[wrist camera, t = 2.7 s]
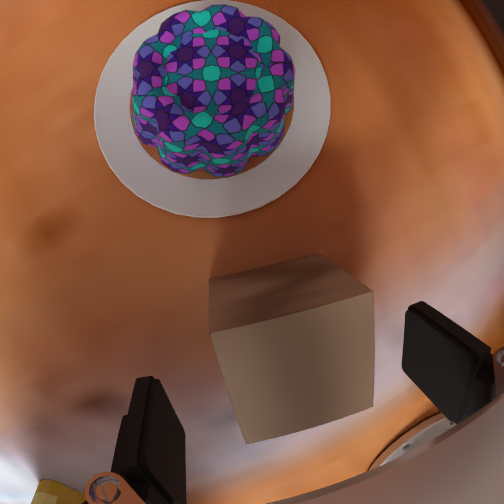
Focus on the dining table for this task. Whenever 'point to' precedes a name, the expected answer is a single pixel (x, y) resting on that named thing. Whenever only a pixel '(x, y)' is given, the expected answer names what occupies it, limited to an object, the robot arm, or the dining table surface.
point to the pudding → (212, 107)
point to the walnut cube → (293, 345)
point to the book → (56, 494)
